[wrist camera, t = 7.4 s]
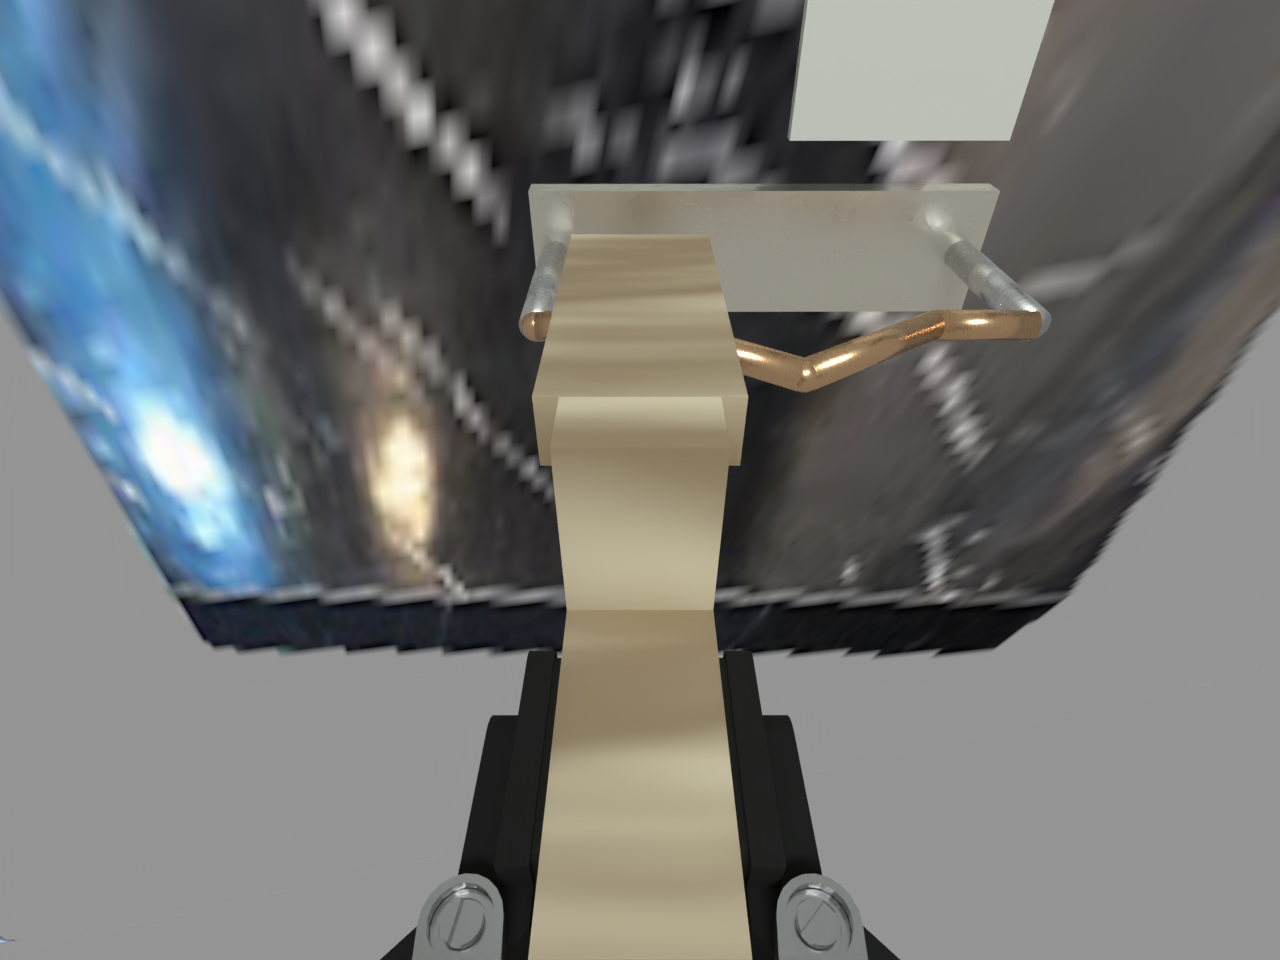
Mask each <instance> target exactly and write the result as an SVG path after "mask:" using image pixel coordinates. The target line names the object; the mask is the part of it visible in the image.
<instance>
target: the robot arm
mask: <svg viewBox="0 0 1280 960" xmlns="http://www.w3.org/2000/svg"><path fill="white" fill-rule="evenodd" d="M719 665H720V674H721V683H722V692H723V701H724V710H725V719H726V728H727V737H728V746H729V755H730V764H731V773H732V782H733V791H734V800H735V809H736V818H737V827H738V835H739V844H740V853H741V862H742V871H743V880H744V889H745V898H746V907H747V916H748V925H749V934H750V943H751V952H752V960H900V959H899V958H898V957H897V956H896V955H895V954H894V953H892V952H891V951H890V950H889V949H888V948H887V947H886V946H885V945H884V944H882V943H881V942H880V941H879V940H878V939H877V938H876V937H875V936H874V935H873V934H872V933H870V932H869V931H868V930H867V929H866V928H865V927H864V926H863V923H862V919H861V916H860V912H859V909H858V907H857V906H856V904H855V902H854V900H853V899H852V897H851V895H850V894H849V893H848V892H847V891H846V890H845V889H844V888H843V887H842V886H841V885H840V884H839V883H837V882H835V881H834V880H832V879H830V878H829V877H826V876H823V875H822V871H821V866H820V861H819V856H818V851H817V845H816V840H815V835H814V830H813V825H812V820H811V815H810V810H809V805H808V800H807V795H806V789H805V785H804V779H803V774H802V769H801V764H800V759H799V754H798V749H797V744H796V739H795V734H794V729H793V725H792V722H791V719H790V717H789V716H788V715H762V710H761V703H760V697H759V691H758V685H757V678H756V672H755V666H754V660H753V655H752V652H751V651H724V653H723V658H719ZM560 667H561V658H557V652H556V651H529V653H528V656H527V662H526V668H525V674H524V680H523V687H522V693H521V699H520V705H519V712H518V715H492V716H491V718H490V720H489V723H488V726H487V730H486V735H485V740H484V745H483V750H482V755H481V761H480V766H479V771H478V776H477V781H476V786H475V791H474V796H473V801H472V806H471V811H470V816H469V821H468V826H467V831H466V837H465V842H464V847H463V852H462V857H461V862H460V867H459V872H458V875H457V876H454V877H451V878H450V879H448V880H446V881H445V882H443V883H442V884H440V885H439V886H438V887H437V888H436V889H435V890H434V891H433V892H432V893H431V894H430V895H429V897H428V899H427V901H426V902H425V904H424V906H423V907H422V909H421V913H420V916H419V919H418V923H417V926H416V927H415V928H414V929H413V930H412V931H411V932H410V933H409V934H408V935H406V936H405V937H404V938H403V939H402V940H401V941H400V942H399V943H398V944H397V945H396V946H395V947H393V948H392V949H391V950H390V951H389V952H388V953H387V954H386V955H385V956H383V957H382V958H381V959H380V960H528V955H529V946H530V937H531V928H532V919H533V910H534V901H535V892H536V883H537V874H538V865H539V856H540V847H541V838H542V829H543V820H544V811H545V802H546V793H547V784H548V775H549V766H550V757H551V748H552V739H553V730H554V721H555V712H556V703H557V694H558V685H559V676H560Z"/></svg>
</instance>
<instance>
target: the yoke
mask: <svg viewBox="0 0 1280 960" xmlns="http://www.w3.org/2000/svg"><path fill="white" fill-rule="evenodd" d="M532 402H533V410H534V418H535V427H536V435H537V444H538V452H539V460H540V466H552V474H553V483H554V493H555V502H556V512H557V521H558V531H559V540H560V550H561V559H562V569H563V578H564V588H565V597H566V607H567V613H566V622H565V631H564V640H563V649H562V658H561V667H560V676H559V685H558V694H557V703H556V712H555V721H554V730H553V739H552V748H551V757H550V766H549V775H548V784H547V793H546V802H545V811H544V820H543V829H542V838H541V847H540V856H539V865H538V874H537V883H536V892H535V901H534V910H533V919H532V928H531V937H530V946H529V955H528V960H752V952H751V943H750V934H749V925H748V916H747V907H746V898H745V889H744V880H743V871H742V862H741V853H740V844H739V835H738V827H737V818H736V809H735V800H734V791H733V782H732V773H731V764H730V755H729V746H728V737H727V728H726V719H725V710H724V701H723V692H722V683H721V674H720V665H719V656H718V647H717V638H716V629H715V620H714V611H713V609H714V599H715V590H716V580H717V571H718V561H719V552H720V543H721V533H722V524H723V514H724V505H725V495H726V486H727V476H728V467H729V466H740V462H741V454H742V445H743V437H744V429H745V420H746V412H747V404H748V394H747V389H746V385H745V381H744V377H743V373H742V369H741V365H740V361H739V357H738V353H737V348H736V344H735V340H734V336H733V332H732V328H731V324H730V320H729V316H728V312H727V307H726V303H725V299H724V295H723V291H722V287H721V283H720V279H719V275H718V270H717V266H716V262H715V258H714V254H713V250H712V246H711V242H710V238H709V234H571V238H570V242H569V246H568V251H567V255H566V259H565V263H564V267H563V271H562V275H561V279H560V284H559V288H558V292H557V296H556V300H555V304H554V308H553V312H552V316H551V321H550V325H549V329H548V333H547V337H546V341H545V345H544V349H543V353H542V358H541V362H540V366H539V370H538V374H537V378H536V382H535V386H534V390H533V395H532Z"/></svg>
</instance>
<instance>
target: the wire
mask: <svg viewBox="0 0 1280 960" xmlns="http://www.w3.org/2000/svg"><path fill="white" fill-rule="evenodd" d="M999 193H1000V190H998V189H997V188H995V187H994V186H992V185H991V184H531V186H530V188H529V191H528V194H529V203H530V213H531V223H532V233H533V243H534V253H535V263H536V268H535V272H534V275H533V278H532V281H531V284H530V288H529V291H528V294H527V297H526V300H525V303H524V307H523V310H522V313H521V316H520V319H519V329H520V331H521V333H522V334H523V335H524V336H525V337H526V338H527V339H529V340H531V341H536V342H540V341H546V337H547V333H548V329H549V325H550V321H551V316H552V312H553V308H554V304H555V300H556V296H557V292H558V288H559V284H560V279H561V275H562V271H563V267H564V263H565V259H566V255H567V251H568V246H569V242H570V238H571V234H709V238H710V242H711V246H712V250H713V254H714V258H715V262H716V266H717V270H718V275H719V279H720V283H721V287H722V291H723V295H724V299H725V303H726V307H727V312H894V311H928V312H925V313H922V314H920V315H917V316H914V317H912V318H909V319H906V320H904V321H901V322H898V323H896V324H893V325H890V326H888V327H885V328H882V329H880V330H877V331H874V332H872V333H869V334H866V335H864V336H861V337H858V338H856V339H853V340H850V341H848V342H845V343H842V344H840V345H837V346H834V347H832V348H829V349H826V350H824V351H821V352H818V353H816V354H813V355H810V356H808V357H805V358H804V357H800V356H797V355H793V354H790V353H786V352H783V351H779V350H776V349H772V348H769V347H765V346H762V345H758V344H755V343H751V342H747V341H744V340H740V339H737V338H734V340H735V344H736V348H737V353H738V357H739V361H740V365H741V369H742V373H743V375H745V376H749V377H752V378H755V379H758V380H761V381H765V382H768V383H771V384H774V385H778V386H781V387H784V388H787V389H791V390H794V391H797V392H801V393H807V392H811V391H813V390H815V389H818V388H820V387H823V386H825V385H828V384H830V383H833V382H835V381H838V380H840V379H842V378H845V377H847V376H850V375H852V374H855V373H857V372H860V371H862V370H864V369H867V368H869V367H872V366H874V365H877V364H879V363H882V362H884V361H887V360H889V359H891V358H894V357H896V356H899V355H901V354H904V353H906V352H909V351H911V350H913V349H916V348H918V347H921V346H923V345H926V344H928V343H931V342H933V341H935V340H1023V341H1030V340H1034V339H1036V338H1038V337H1040V336H1041V335H1043V334H1044V333H1045V332H1046V331H1047V329H1048V328H1049V326H1050V324H1051V315H1050V313H1049V312H1048V311H1047V310H1046V309H1045V308H1044V307H1042V306H1041V305H1040V304H1039V303H1038V302H1037V301H1036V300H1035V299H1033V298H1032V297H1031V296H1030V295H1029V294H1028V293H1027V292H1026V291H1024V290H1023V289H1022V288H1021V287H1020V286H1019V285H1018V284H1017V283H1015V282H1014V281H1013V280H1012V279H1011V278H1010V277H1009V276H1008V275H1006V274H1005V273H1004V272H1003V271H1002V270H1001V269H1000V268H999V267H997V266H996V265H995V264H994V263H993V262H992V261H991V260H990V259H988V258H987V257H986V256H985V255H984V254H983V253H982V252H981V248H982V245H983V242H984V239H985V236H986V233H987V230H988V227H989V224H990V220H991V217H992V214H993V211H994V208H995V205H996V202H997V199H998V196H999ZM968 288H970V289H971V291H972V292H973V293H974V294H975V295H976V296H977V297H978V298H979V299H980V300H981V301H982V302H983V303H984V304H985V305H986V306H987V307H988V308H989V309H990V310H961V309H962V306H963V303H964V300H965V297H966V294H967V291H968Z"/></svg>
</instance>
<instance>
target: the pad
mask: <svg viewBox="0 0 1280 960" xmlns="http://www.w3.org/2000/svg"><path fill="white" fill-rule="evenodd" d="M1054 1H1055V0H805V4H804V12H803V20H802V27H801V35H800V43H799V51H798V59H797V67H796V74H795V82H794V90H793V98H792V106H791V114H790V121H789V129H788V137H787V138H788V139H789V140H790V141H1010V138H1011V135H1012V132H1013V129H1014V126H1015V123H1016V119H1017V116H1018V113H1019V110H1020V107H1021V104H1022V101H1023V98H1024V95H1025V91H1026V88H1027V85H1028V82H1029V79H1030V76H1031V73H1032V70H1033V66H1034V63H1035V60H1036V57H1037V54H1038V51H1039V48H1040V45H1041V42H1042V38H1043V35H1044V32H1045V29H1046V26H1047V23H1048V20H1049V17H1050V13H1051V10H1052V7H1053V4H1054Z"/></svg>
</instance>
